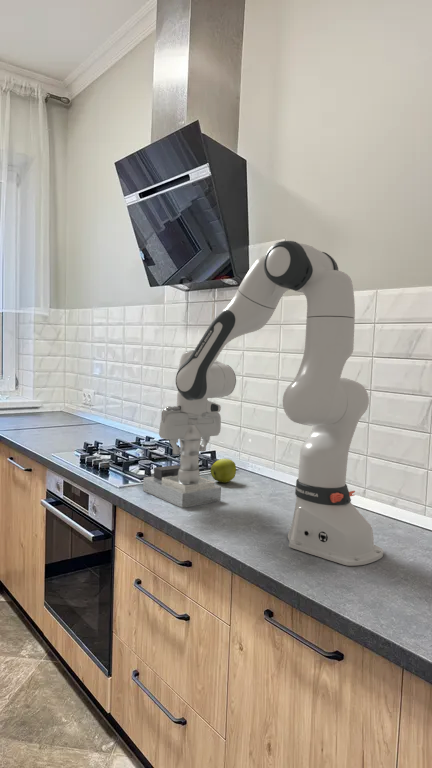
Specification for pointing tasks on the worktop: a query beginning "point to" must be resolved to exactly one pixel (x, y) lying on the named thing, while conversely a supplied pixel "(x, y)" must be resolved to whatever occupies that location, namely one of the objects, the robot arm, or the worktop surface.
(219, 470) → the apple
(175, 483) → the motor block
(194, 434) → the plastic bottle
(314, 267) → the robot arm
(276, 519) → the worktop surface
